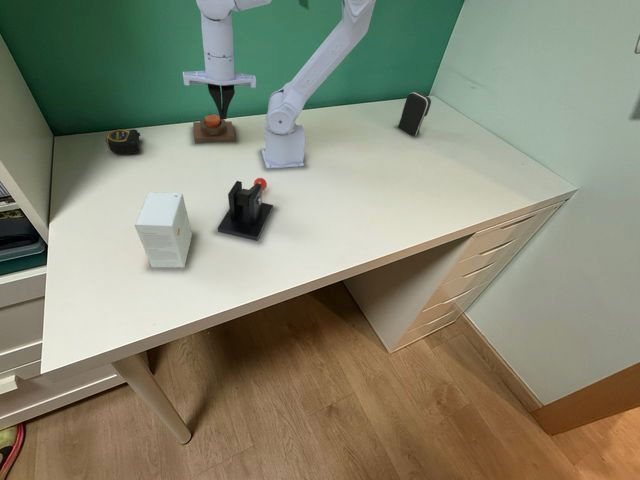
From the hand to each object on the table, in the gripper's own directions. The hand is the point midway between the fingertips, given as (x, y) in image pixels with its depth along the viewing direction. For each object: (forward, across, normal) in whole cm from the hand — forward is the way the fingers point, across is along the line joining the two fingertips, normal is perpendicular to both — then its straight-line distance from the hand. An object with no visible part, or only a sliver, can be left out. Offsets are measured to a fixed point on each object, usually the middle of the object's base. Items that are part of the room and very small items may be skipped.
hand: (222, 117), depth 75 cm
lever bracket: (+10, -2, +24) cm, 26 cm away
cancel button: (+7, +2, -10) cm, 12 cm away
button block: (+10, +2, -10) cm, 14 cm away
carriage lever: (+6, -4, +21) cm, 22 cm away
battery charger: (+8, -57, -8) cm, 58 cm away
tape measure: (+11, +22, -5) cm, 25 cm away
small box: (+10, +12, +30) cm, 34 cm away
